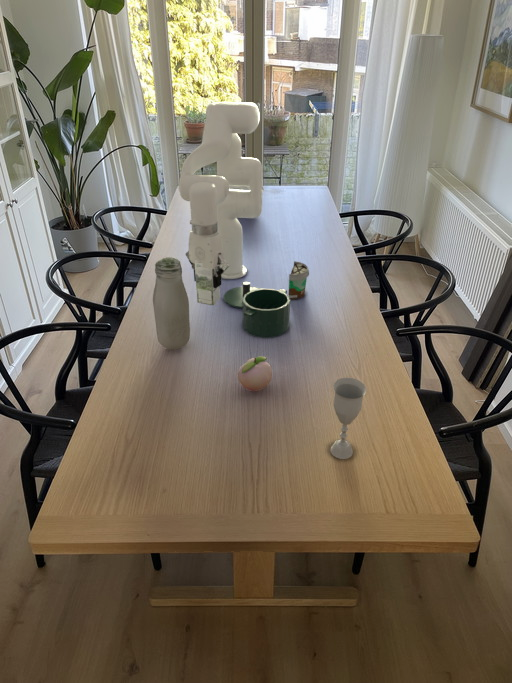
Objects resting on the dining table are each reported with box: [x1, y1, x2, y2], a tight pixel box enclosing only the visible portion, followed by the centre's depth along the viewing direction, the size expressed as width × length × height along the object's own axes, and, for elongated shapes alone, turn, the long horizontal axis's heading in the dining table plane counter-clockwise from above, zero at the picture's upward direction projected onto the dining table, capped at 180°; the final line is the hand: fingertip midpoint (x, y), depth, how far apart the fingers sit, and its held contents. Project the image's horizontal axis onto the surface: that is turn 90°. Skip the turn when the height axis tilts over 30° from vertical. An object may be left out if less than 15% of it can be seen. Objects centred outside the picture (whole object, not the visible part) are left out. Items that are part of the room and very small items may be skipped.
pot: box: [242, 288, 291, 339], centre depth 162 cm, size 15×20×10 cm
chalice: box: [330, 377, 367, 460], centre depth 112 cm, size 7×7×18 cm
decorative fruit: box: [237, 355, 273, 392], centre depth 134 cm, size 9×8×10 cm
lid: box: [223, 281, 261, 309], centre depth 178 cm, size 16×16×6 cm
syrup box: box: [194, 260, 221, 306], centre depth 157 cm, size 6×6×14 cm
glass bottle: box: [152, 256, 191, 351], centre depth 147 cm, size 10×10×28 cm
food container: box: [288, 260, 310, 301], centre depth 181 cm, size 12×6×10 cm, turn 168°
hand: (207, 282), depth 158 cm, fingers closed on syrup box, 6 cm apart
